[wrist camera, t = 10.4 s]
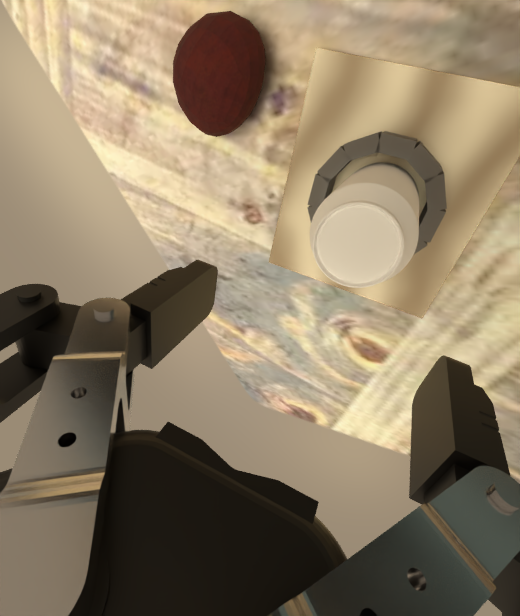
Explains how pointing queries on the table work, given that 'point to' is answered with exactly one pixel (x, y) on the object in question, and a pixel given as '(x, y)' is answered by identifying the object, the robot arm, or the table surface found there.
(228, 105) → the potato
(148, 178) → the table surface
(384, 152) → the ring board
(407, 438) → the table surface
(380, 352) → the table surface
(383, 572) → the robot arm
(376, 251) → the beverage can
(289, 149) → the table surface
